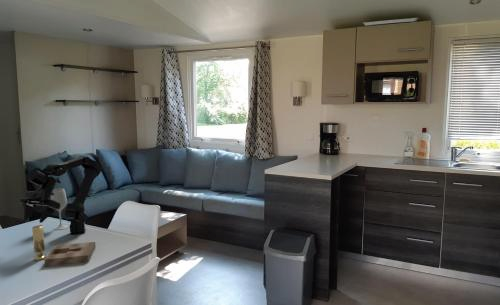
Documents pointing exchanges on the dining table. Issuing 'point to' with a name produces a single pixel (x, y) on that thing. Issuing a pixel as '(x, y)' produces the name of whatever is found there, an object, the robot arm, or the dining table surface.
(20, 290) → the dining table surface
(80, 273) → the dining table surface
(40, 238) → the peg
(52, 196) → the wineglass
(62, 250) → the keyhole board
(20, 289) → the dining table surface
